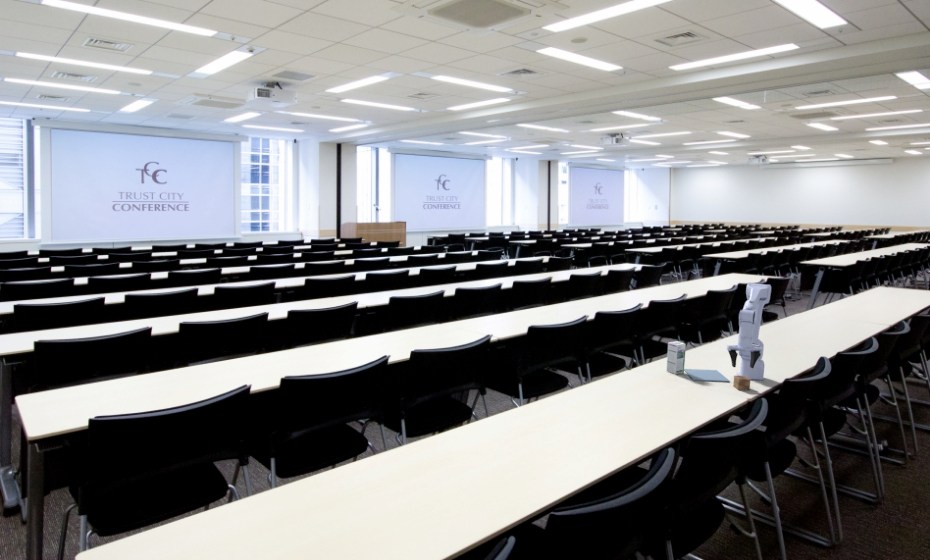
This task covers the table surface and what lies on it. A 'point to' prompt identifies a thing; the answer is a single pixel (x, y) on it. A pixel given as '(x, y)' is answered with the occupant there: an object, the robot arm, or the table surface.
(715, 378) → the slate board
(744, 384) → the walnut cube
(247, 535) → the table surface
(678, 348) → the syrup box
